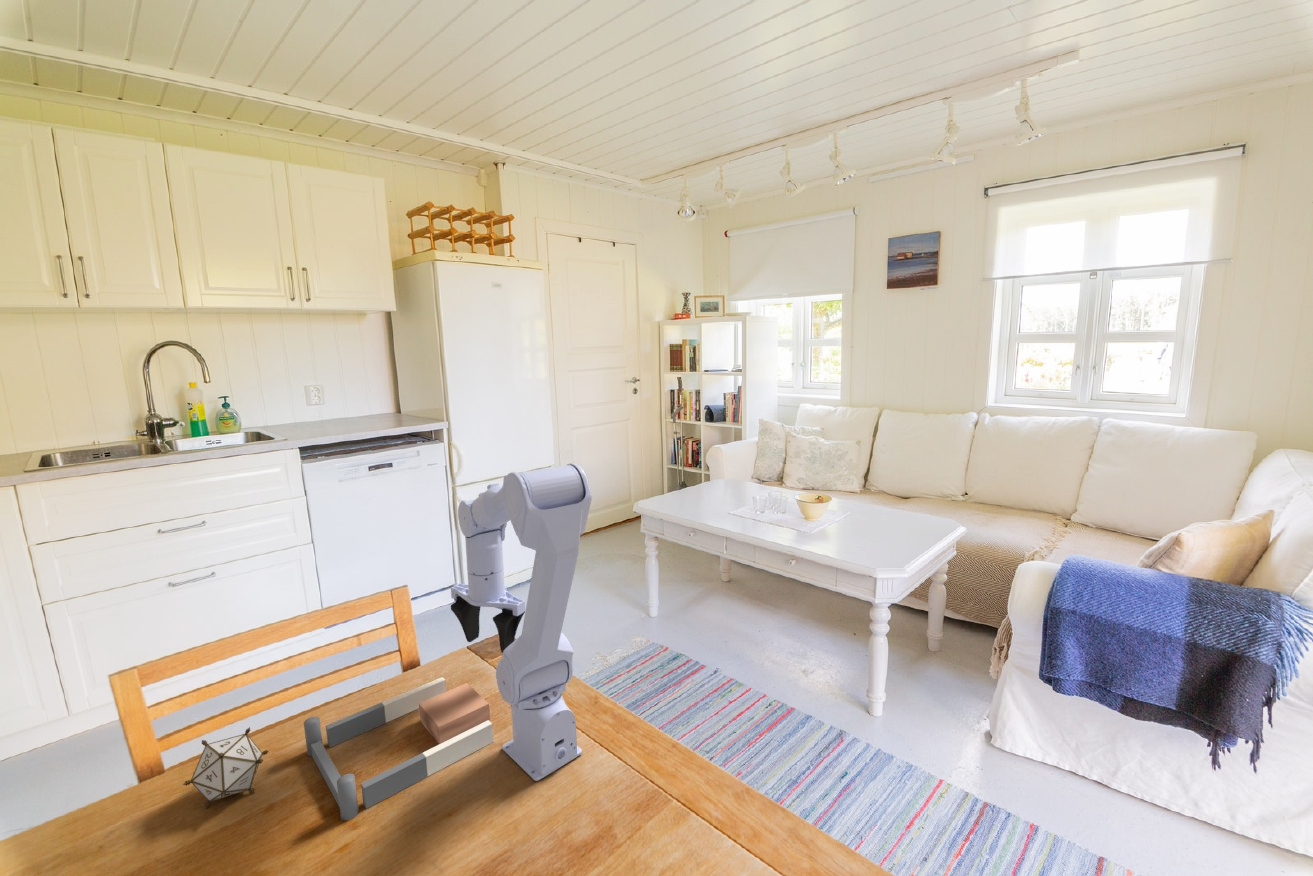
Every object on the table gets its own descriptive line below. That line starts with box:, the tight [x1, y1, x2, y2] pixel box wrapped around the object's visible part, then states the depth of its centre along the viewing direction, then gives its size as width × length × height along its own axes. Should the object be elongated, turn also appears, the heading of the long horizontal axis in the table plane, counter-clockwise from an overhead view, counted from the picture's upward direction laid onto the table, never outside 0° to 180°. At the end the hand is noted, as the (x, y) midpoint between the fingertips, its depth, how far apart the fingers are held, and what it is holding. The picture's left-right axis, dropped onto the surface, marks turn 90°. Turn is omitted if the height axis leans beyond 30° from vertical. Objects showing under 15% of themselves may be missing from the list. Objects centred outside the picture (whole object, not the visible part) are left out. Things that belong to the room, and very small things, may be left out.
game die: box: [182, 726, 270, 810], centre depth 76 cm, size 9×8×10 cm
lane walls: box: [381, 676, 494, 777], centre depth 89 cm, size 17×10×3 cm, turn 44°
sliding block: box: [418, 682, 491, 745], centre depth 91 cm, size 8×8×4 cm
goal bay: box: [303, 701, 429, 822], centre depth 82 cm, size 18×11×5 cm, turn 44°
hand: (489, 644), depth 97 cm, fingers open, 7 cm apart
